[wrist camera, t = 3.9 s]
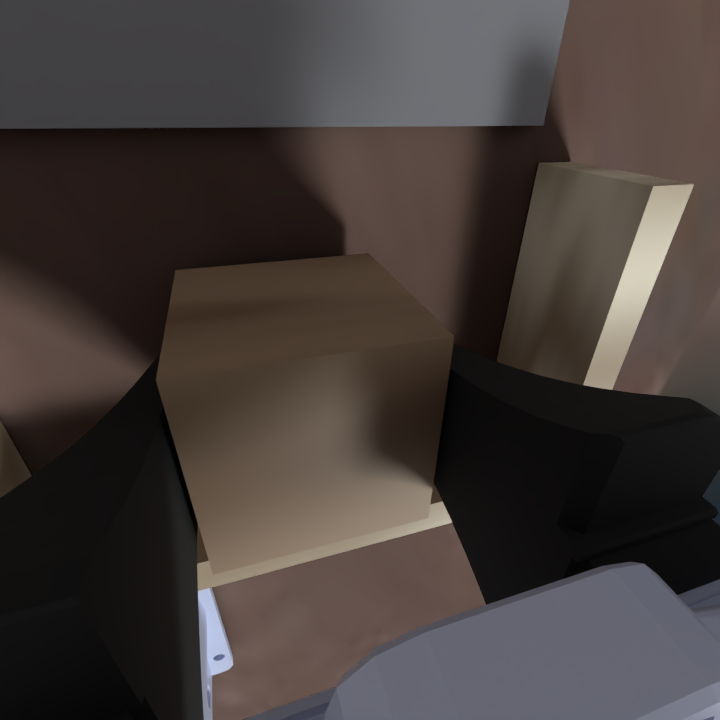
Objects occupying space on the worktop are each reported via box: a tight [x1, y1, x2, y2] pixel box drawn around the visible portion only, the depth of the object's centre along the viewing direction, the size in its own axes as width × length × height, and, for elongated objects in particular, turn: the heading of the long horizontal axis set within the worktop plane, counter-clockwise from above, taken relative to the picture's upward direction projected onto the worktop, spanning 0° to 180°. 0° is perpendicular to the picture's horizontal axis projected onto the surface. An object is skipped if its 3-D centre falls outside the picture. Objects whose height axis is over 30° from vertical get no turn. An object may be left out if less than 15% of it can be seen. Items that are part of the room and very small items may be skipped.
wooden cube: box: [156, 253, 455, 575], centre depth 10 cm, size 5×5×5 cm
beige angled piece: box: [0, 162, 694, 591], centre depth 12 cm, size 10×18×4 cm, turn 89°
